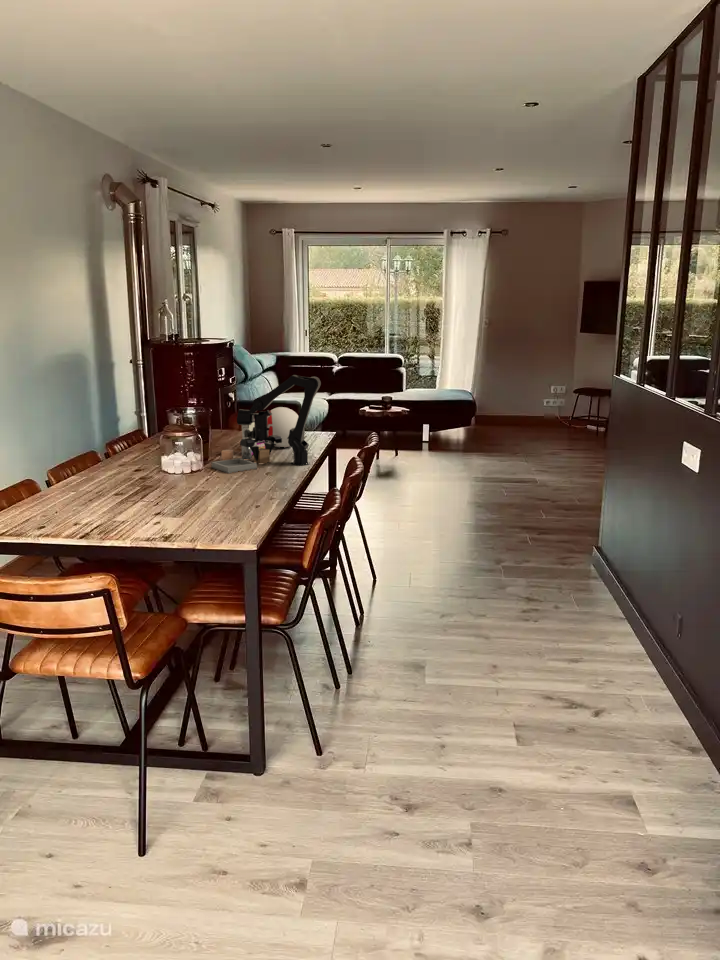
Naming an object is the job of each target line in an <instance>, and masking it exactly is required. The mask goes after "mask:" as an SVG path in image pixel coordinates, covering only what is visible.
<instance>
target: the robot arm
mask: <svg viewBox="0 0 720 960" xmlns="http://www.w3.org/2000/svg"><path fill="white" fill-rule="evenodd" d="M321 385H322V382H321V380H320V378H319V377H317V376H311V377H309V376H301V375H297V374H293V375H290V377H288V378H286V380H284V381H283V382H281V383H280V384H278V385H277V386H276V387H275V388H273V389H271V390H270V391H269V392H267V393H264V394H263V395H260V396H258V397H256V398H254V399H253V401H252V406H251V407H250V409H242V408H239V409H238V411H237V415H236V416H237V417H236V424H237V425H238V426H239V425H240V426H242V425H251V424H252V423H253V422H254V421H255V427H253V431H250V430H245V431H244V435H245V438H247V437H248V438H247V439H241V440H240V444H239V446H241V447H242V446H245V447H250V449H251V450H252V452H253V458H254V457H255V460H256V461H258V453H259V446H257V443H264V444H265V449H268V450H269V455H271V453H272V451H273V449H274V448H275V445H276V444H274V441H275V442H276V443H282V438H281V436H277V435H271V436H269V437H268V430H269V428H268V422H267V416H270V415H272V413H271V412H270V411H271V410H269V409H267V408H268V407H269V406H270V405H271V404H272V403H273V401H274V400H275V399H276V398H278V397H280V395H282V394H284V393H285V392H286V391H288V390H289V389H291V388H293V387H294V386H297V387H301V388H304V393H303V395H304V396H303V400H302V404H301V406H300V411H299V414H298V420H297V423H296V426H295V428H292V429H291V430H290V432H289V436H288V438H287V439H288V443H289V445H290V446H289V447H291V448H292V452H293V457H292V458H293V461H291V462H290V464H291V463H293V464H292V465H295V464H296V465H295V466H298V465H300V466H302V465H301V464H306V463H308V448H309V443H308V442H307V441H306V440H305V427H306V424H307V422H308V418H309V414H310V411H311V408H312V405H313V401H314V398H315V396H317V392H318V391H319V389H320V387H321ZM265 409H267V410H266V411H263V410H265ZM253 439H255V440H253ZM264 440H265V441H264ZM265 442H266V443H265Z"/></svg>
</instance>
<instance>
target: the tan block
mask: <svg viewBox="0 0 720 960" xmlns="http://www.w3.org/2000/svg"><path fill="white" fill-rule="evenodd" d="M230 459H235V458H234V450H232V449H223V450H221V461H223V460H230Z"/></svg>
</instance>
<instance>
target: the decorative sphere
mask: <svg viewBox="0 0 720 960" xmlns="http://www.w3.org/2000/svg"><path fill="white" fill-rule="evenodd" d="M269 411H270V412H271V413H272V415H270V416H267V422H268V428H269V430H268V437H269V436H271V435H277V436H281V438H282V443H276V442H275V441H274V444H276V445H275V446H274V448H275V447H276V448H280V447H284V448H288V447H291V446H290V445H289V443H288V439H287V438H288V436H289V432H290V430H291V429H292V428H295V426H296V423H297V420H298V416H299V414H298V413H297V412H296V411H294V410H293V409H290V408H289V407H285V406H284V407H283V406H278V407H275V408H273V409H271V410H269Z"/></svg>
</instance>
